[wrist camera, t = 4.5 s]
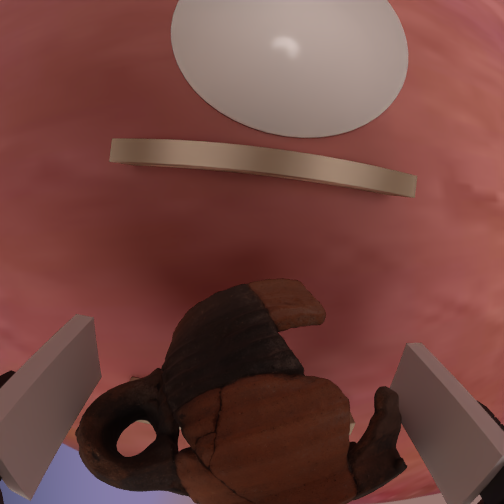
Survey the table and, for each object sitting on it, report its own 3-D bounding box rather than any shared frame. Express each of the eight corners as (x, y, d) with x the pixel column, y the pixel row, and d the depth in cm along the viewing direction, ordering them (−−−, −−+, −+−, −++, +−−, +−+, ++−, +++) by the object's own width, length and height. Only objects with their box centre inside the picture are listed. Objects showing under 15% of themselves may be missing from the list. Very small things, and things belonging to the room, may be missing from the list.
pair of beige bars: (133, 388, 21) (119, 417, 17) (134, 146, 17) (112, 138, 14) (338, 405, 21) (350, 434, 18) (389, 176, 18) (416, 176, 14)
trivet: (196, -54, 14) (195, -57, 13) (399, -20, 14) (400, -22, 14) (152, 125, 17) (150, 125, 17) (403, 160, 18) (406, 160, 17)
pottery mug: (367, 248, 12) (483, 425, 6) (311, 366, 18) (362, 483, 12) (47, 283, 9) (39, 545, 3) (113, 397, 15) (135, 535, 9)
